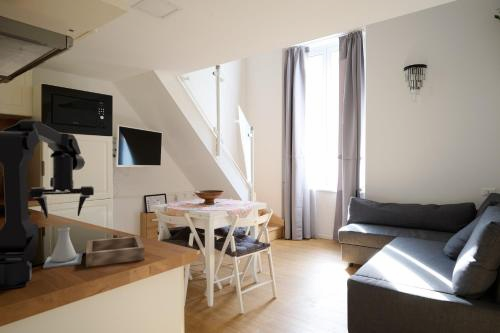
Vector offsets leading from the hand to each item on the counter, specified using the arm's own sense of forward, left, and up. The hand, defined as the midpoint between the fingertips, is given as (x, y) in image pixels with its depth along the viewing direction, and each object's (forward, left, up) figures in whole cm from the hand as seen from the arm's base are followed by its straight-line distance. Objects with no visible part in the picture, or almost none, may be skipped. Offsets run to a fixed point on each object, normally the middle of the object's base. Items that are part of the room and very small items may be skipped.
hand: (63, 216), depth 107 cm
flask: (+1, -8, -13) cm, 15 cm away
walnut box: (+16, -8, -13) cm, 22 cm away
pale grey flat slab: (+1, -8, -13) cm, 15 cm away
